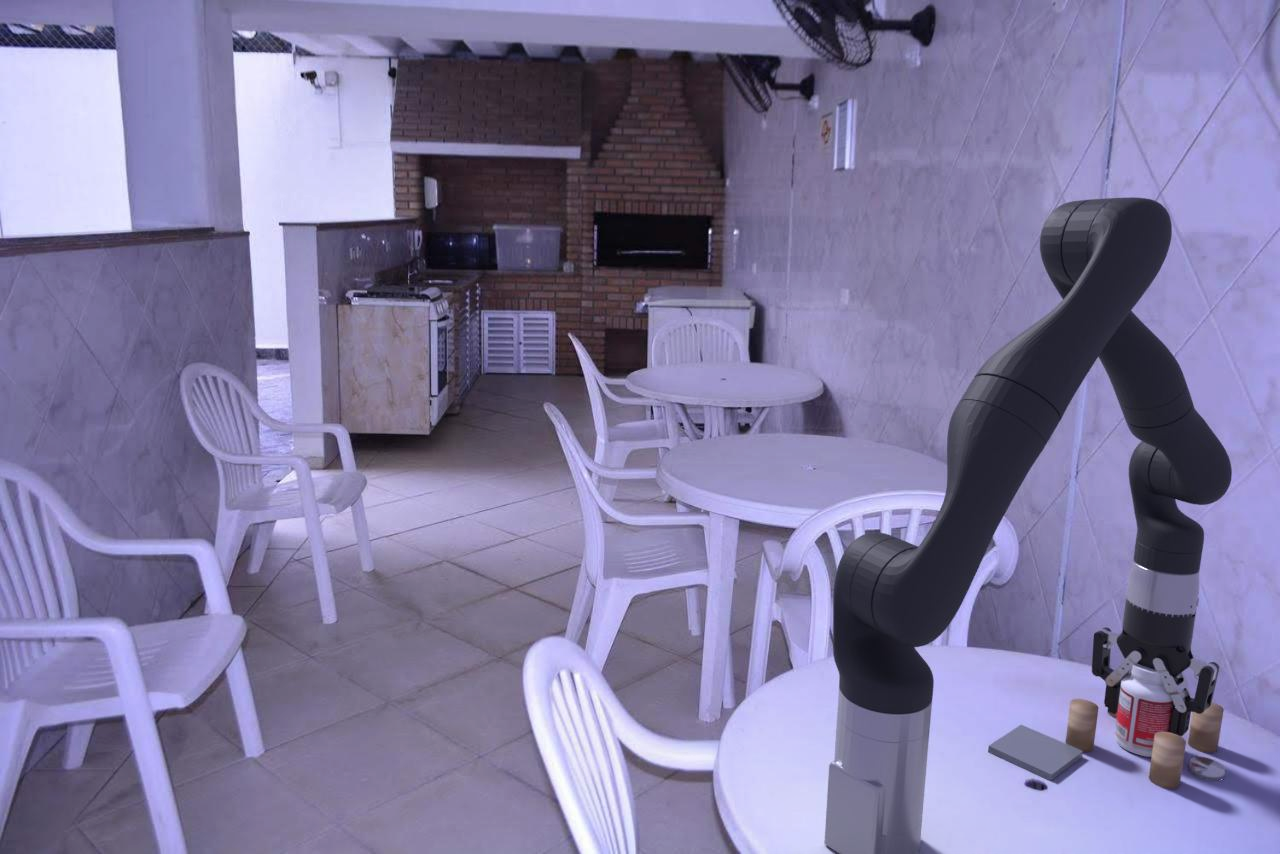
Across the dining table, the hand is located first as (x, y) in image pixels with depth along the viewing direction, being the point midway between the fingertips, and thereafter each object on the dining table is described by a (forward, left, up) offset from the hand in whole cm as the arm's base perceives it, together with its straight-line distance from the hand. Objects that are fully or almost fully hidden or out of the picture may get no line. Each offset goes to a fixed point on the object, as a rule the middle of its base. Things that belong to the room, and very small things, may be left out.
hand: (1144, 723), depth 115 cm
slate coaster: (-13, +8, -3) cm, 15 cm away
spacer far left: (+6, -5, -3) cm, 8 cm away
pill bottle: (0, 0, -3) cm, 3 cm away
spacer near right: (-6, +5, -3) cm, 8 cm away
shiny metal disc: (0, -7, -3) cm, 8 cm away
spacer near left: (-6, -5, -3) cm, 8 cm away
